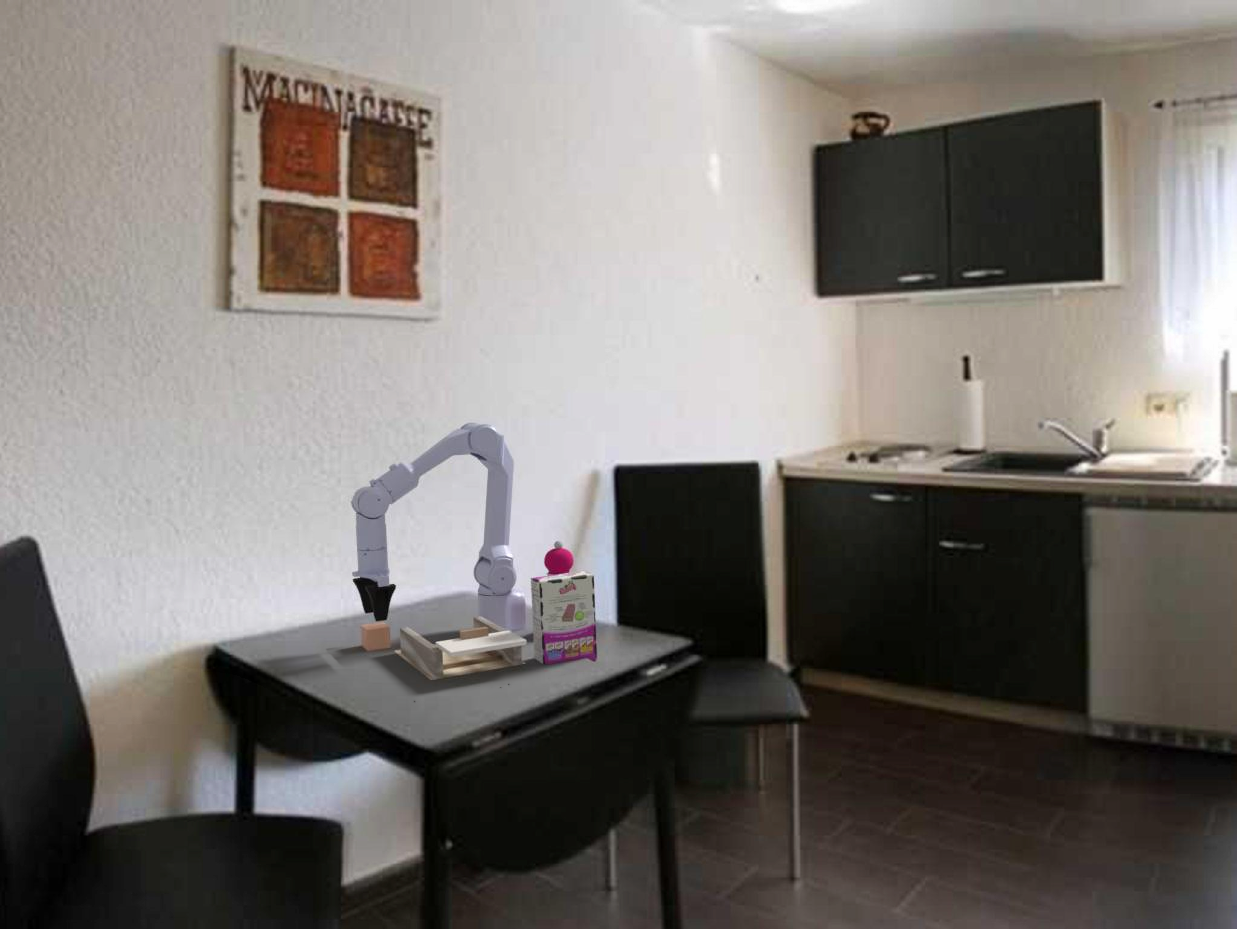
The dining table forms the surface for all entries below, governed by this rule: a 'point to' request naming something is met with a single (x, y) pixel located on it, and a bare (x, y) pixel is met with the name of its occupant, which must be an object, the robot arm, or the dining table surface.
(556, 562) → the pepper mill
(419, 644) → the beige wooden low frame
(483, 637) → the sliding lid
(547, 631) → the candy bar box
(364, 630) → the terracotta block
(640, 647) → the dining table surface
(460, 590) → the dining table surface
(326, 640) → the dining table surface
